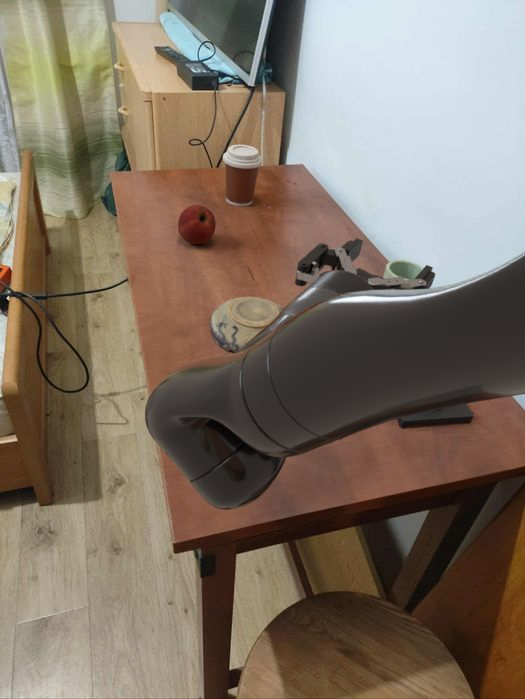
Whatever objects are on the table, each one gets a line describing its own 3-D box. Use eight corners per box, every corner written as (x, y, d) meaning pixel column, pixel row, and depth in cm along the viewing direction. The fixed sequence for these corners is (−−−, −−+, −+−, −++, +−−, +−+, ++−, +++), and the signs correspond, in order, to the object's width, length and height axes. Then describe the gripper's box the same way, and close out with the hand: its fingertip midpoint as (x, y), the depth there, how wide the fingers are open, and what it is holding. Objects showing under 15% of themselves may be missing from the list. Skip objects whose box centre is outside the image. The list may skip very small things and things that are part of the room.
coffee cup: (225, 189, 126) (228, 140, 119) (261, 196, 126) (266, 147, 118) (216, 204, 119) (218, 153, 112) (253, 211, 119) (259, 160, 111)
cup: (399, 309, 89) (416, 259, 82) (414, 331, 84) (433, 281, 78) (365, 310, 88) (380, 259, 81) (378, 333, 83) (395, 281, 77)
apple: (184, 253, 101) (184, 215, 96) (173, 234, 107) (172, 198, 101) (219, 248, 104) (221, 212, 99) (206, 230, 109) (207, 195, 104)
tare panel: (443, 379, 81) (450, 365, 79) (470, 422, 74) (478, 408, 72) (378, 382, 78) (383, 368, 76) (400, 427, 72) (406, 413, 70)
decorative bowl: (241, 292, 93) (188, 329, 83) (243, 274, 91) (188, 311, 81) (311, 326, 88) (263, 371, 78) (315, 309, 86) (266, 353, 75)
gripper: (407, 325, 42) (464, 252, 53) (265, 263, 47) (343, 208, 58) (384, 389, 47) (441, 310, 58) (257, 326, 52) (331, 265, 63)
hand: (392, 259), depth 58 cm, fingers open, 8 cm apart
